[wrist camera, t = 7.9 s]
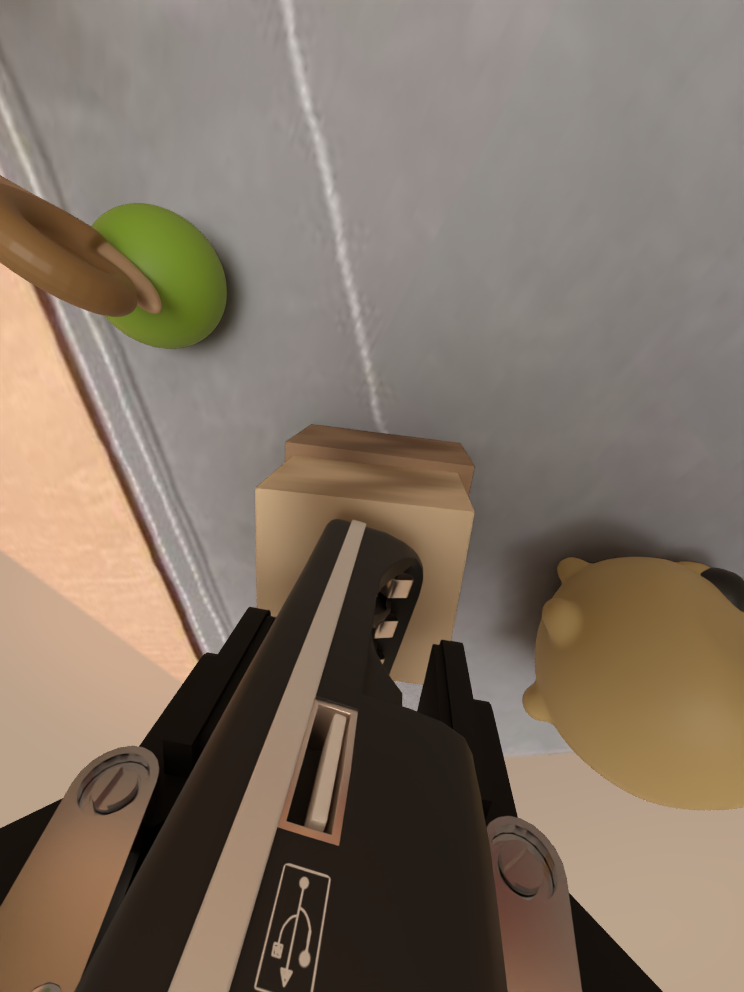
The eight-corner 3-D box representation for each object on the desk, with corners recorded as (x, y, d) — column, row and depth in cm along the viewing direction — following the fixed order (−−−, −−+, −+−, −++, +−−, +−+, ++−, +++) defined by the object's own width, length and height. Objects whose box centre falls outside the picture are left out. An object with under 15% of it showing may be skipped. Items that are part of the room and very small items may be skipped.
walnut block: (459, 442, 21) (474, 466, 17) (435, 573, 24) (442, 626, 19) (311, 423, 22) (285, 441, 17) (304, 554, 24) (279, 602, 20)
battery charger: (390, 714, 14) (307, 1925, 3) (285, 682, 14) (-154, 1781, 3) (458, 541, 12) (1058, 2964, 1) (333, 503, 12) (-740, 2398, 1)
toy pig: (567, 630, 28) (769, 735, 21) (472, 729, 20) (742, 950, 13) (605, 501, 25) (863, 577, 18) (508, 563, 17) (901, 742, 10)
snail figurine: (152, 185, 18) (-256, -95, 7) (266, 280, 19) (65, 168, 8) (103, 288, 20) (-292, 197, 9) (210, 372, 21) (-22, 387, 10)
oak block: (457, 472, 17) (474, 512, 12) (434, 613, 19) (442, 687, 15) (293, 455, 17) (255, 487, 13) (290, 595, 19) (257, 662, 15)
